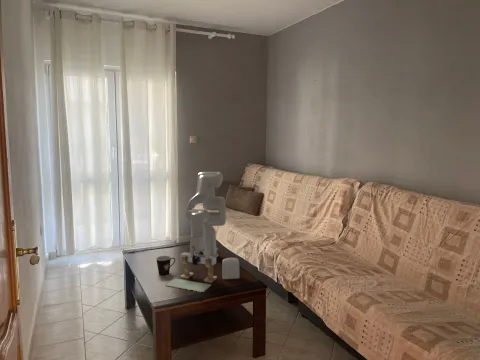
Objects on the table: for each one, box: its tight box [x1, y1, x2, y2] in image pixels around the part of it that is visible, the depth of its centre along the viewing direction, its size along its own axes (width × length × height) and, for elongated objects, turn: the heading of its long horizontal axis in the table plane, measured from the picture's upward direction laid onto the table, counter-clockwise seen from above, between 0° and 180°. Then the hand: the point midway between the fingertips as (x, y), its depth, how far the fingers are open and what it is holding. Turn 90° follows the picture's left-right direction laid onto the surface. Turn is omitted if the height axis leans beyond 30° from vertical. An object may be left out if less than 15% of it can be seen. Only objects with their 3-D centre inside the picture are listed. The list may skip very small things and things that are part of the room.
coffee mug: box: [155, 255, 176, 277], centre depth 220 cm, size 12×9×10 cm
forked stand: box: [179, 256, 218, 284], centre depth 212 cm, size 7×21×13 cm, turn 67°
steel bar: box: [179, 251, 217, 266], centre depth 212 cm, size 4×22×4 cm, turn 67°
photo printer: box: [221, 257, 241, 280], centre depth 212 cm, size 10×4×12 cm, turn 96°
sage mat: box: [164, 278, 212, 293], centre depth 202 cm, size 10×24×1 cm, turn 67°
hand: (198, 262), depth 212 cm, fingers open, 6 cm apart
